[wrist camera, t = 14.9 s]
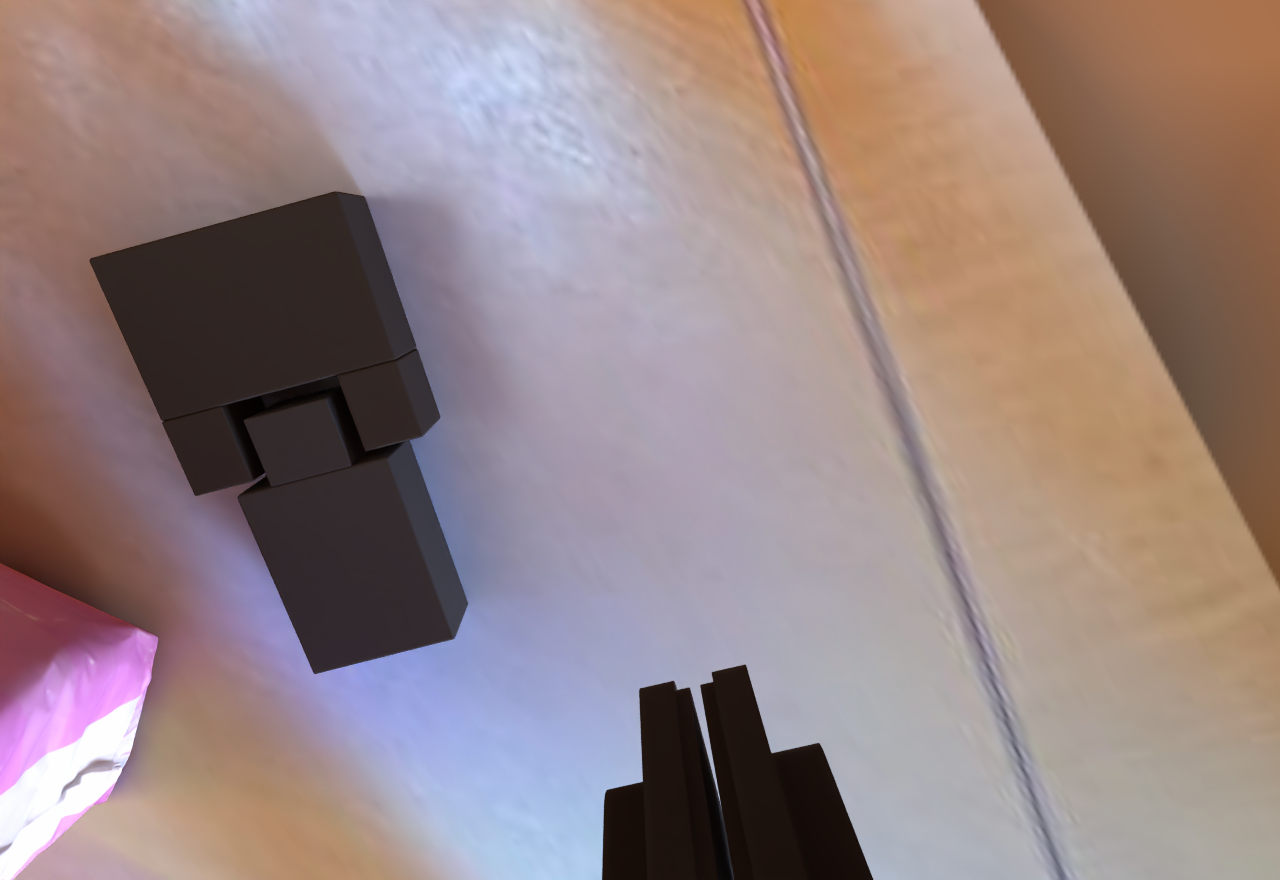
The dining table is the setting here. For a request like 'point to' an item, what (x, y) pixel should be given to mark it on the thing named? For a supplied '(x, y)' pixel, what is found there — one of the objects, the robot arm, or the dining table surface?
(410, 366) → the notch pad
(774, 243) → the dining table surface
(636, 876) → the robot arm
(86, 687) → the package of pads
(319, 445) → the pad
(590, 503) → the dining table surface
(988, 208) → the dining table surface
